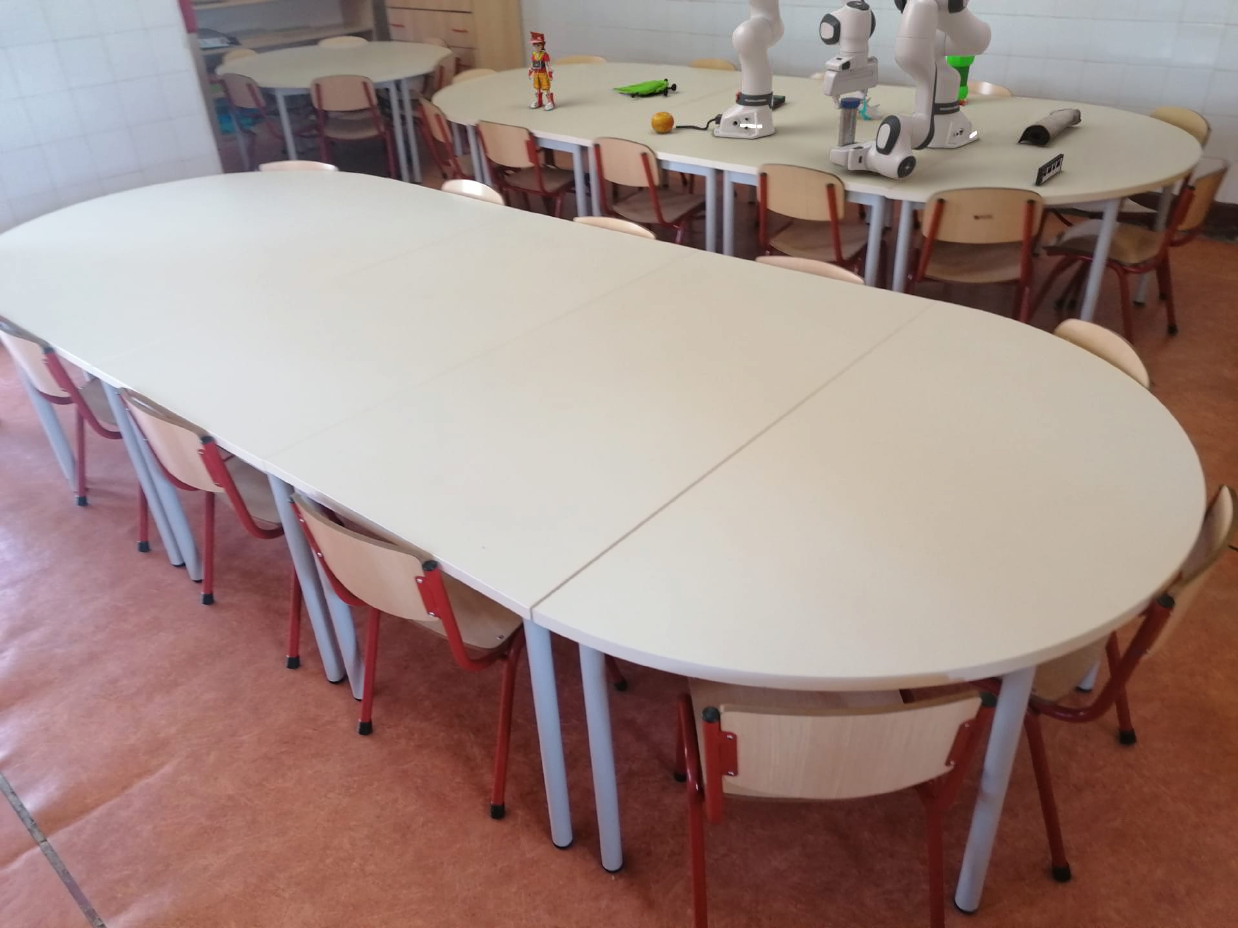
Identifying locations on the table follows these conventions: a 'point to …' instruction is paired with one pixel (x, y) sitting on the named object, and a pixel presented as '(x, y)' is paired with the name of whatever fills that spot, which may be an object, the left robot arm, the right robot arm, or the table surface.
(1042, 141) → the rolled mat
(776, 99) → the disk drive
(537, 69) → the toy
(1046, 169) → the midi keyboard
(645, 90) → the toy
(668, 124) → the fruit
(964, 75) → the green dumbbell
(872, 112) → the anatomical model
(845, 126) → the jar
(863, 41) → the left robot arm
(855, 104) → the lid
